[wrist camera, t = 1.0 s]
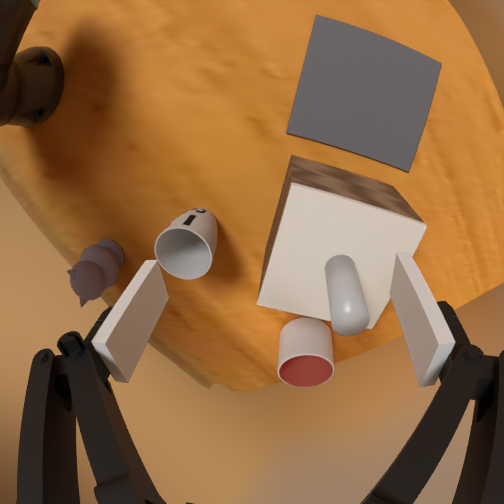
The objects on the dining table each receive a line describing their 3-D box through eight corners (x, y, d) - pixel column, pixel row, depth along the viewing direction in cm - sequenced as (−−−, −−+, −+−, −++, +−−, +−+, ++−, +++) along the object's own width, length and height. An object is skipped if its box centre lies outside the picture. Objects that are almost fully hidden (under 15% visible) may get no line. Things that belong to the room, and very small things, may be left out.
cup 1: (212, 191, 46) (193, 218, 38) (234, 235, 50) (222, 270, 41) (169, 209, 49) (144, 239, 40) (192, 250, 52) (173, 285, 44)
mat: (286, 132, 40) (286, 132, 40) (315, 15, 31) (316, 14, 31) (408, 171, 41) (408, 172, 40) (440, 63, 31) (441, 63, 31)
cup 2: (269, 331, 60) (265, 371, 51) (308, 305, 55) (309, 345, 47) (303, 355, 62) (303, 394, 54) (341, 332, 58) (345, 372, 49)
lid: (258, 295, 40) (247, 359, 31) (291, 179, 32) (291, 222, 23) (369, 320, 40) (383, 382, 31) (421, 219, 32) (460, 270, 23)
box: (265, 249, 50) (257, 300, 39) (291, 154, 42) (291, 182, 31) (356, 272, 50) (370, 325, 39) (393, 186, 42) (424, 223, 31)
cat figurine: (132, 274, 57) (104, 314, 46) (99, 270, 57) (69, 308, 47) (123, 234, 52) (89, 271, 42) (89, 233, 53) (53, 267, 43)
